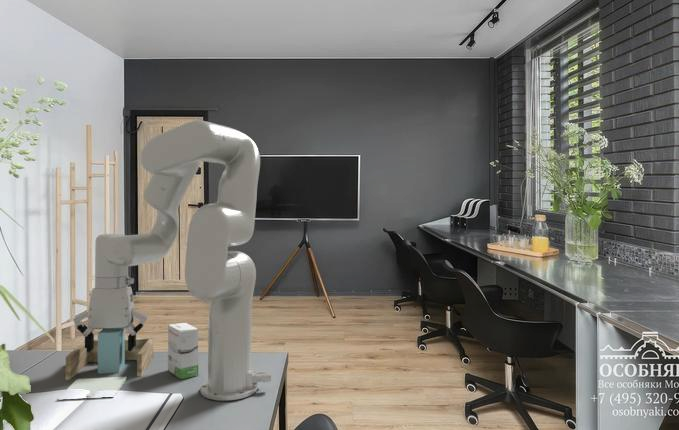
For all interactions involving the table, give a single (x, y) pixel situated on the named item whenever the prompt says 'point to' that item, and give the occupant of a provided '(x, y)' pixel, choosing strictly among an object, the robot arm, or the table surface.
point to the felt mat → (98, 384)
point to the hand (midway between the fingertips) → (110, 350)
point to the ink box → (183, 350)
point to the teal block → (111, 350)
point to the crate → (82, 357)
